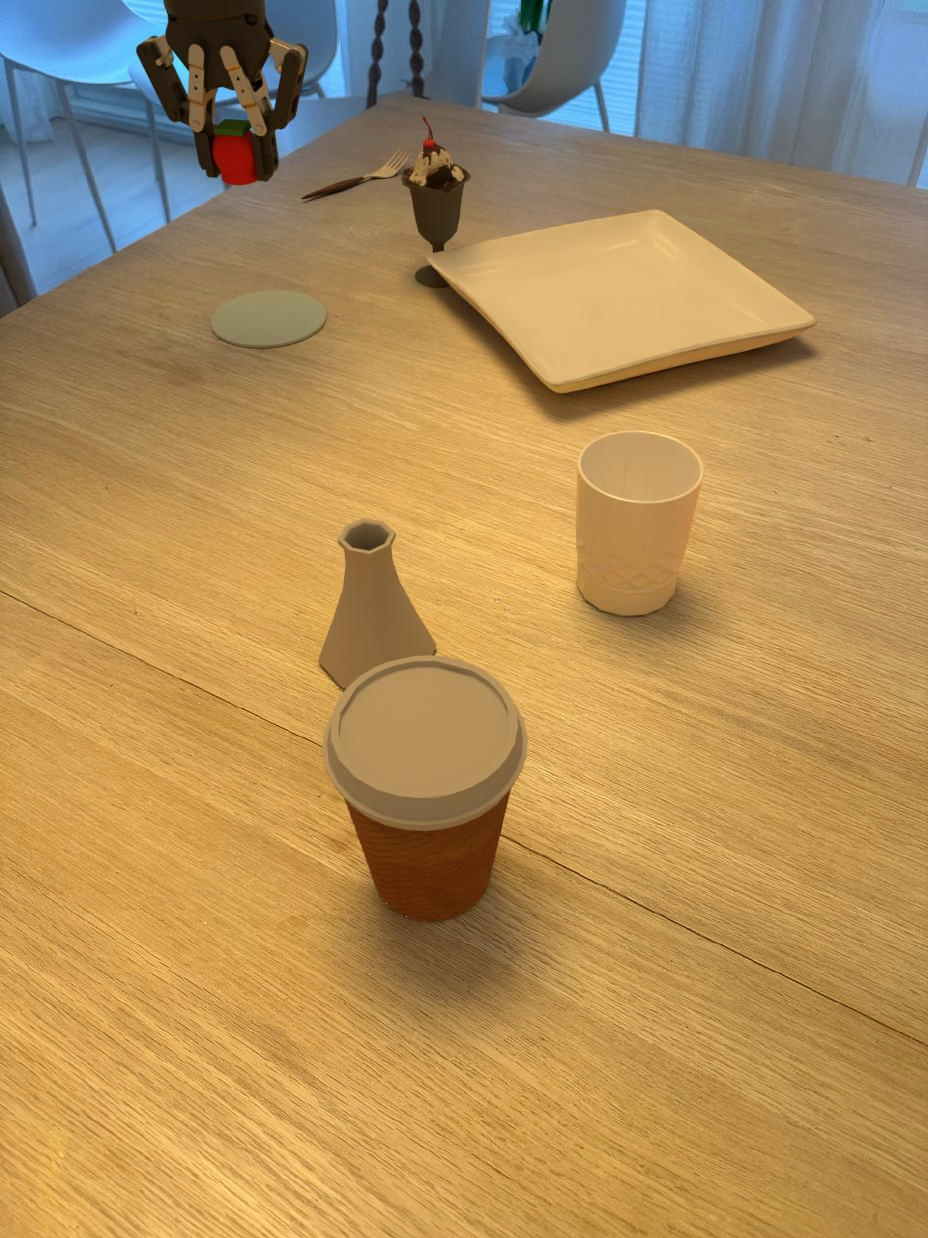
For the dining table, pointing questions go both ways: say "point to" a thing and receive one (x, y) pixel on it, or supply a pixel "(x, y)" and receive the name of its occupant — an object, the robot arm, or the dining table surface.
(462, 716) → the disposable coffee cup
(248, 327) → the saucer
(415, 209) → the sundae
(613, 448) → the white cup
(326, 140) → the dining table surface
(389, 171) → the fork
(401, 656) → the flask
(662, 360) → the square plate
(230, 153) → the strawberry
